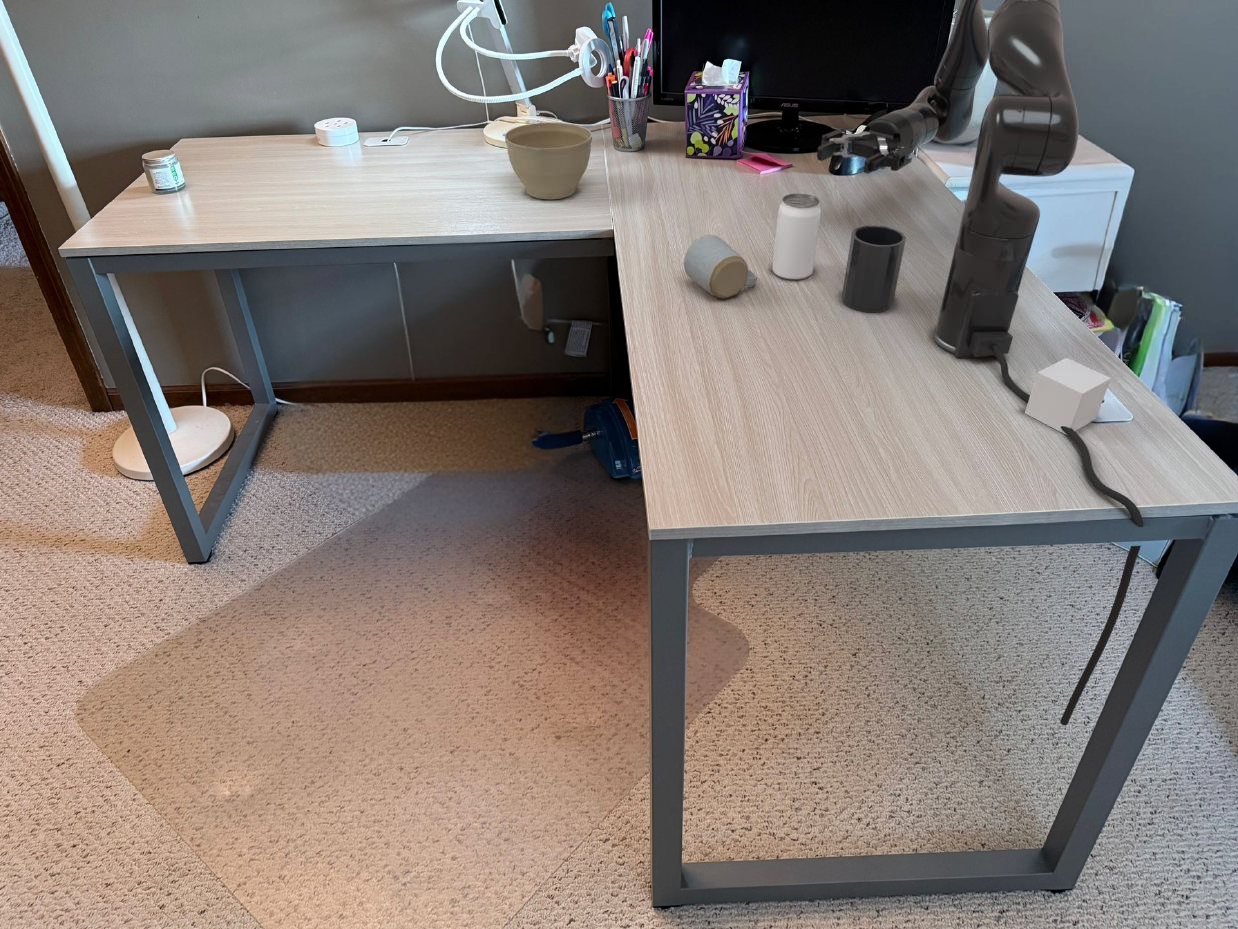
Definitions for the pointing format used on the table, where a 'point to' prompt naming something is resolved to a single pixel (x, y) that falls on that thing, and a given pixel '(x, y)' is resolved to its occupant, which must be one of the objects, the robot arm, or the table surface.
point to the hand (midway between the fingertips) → (842, 160)
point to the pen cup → (873, 268)
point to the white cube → (1067, 395)
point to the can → (796, 236)
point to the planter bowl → (549, 157)
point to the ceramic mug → (717, 267)
